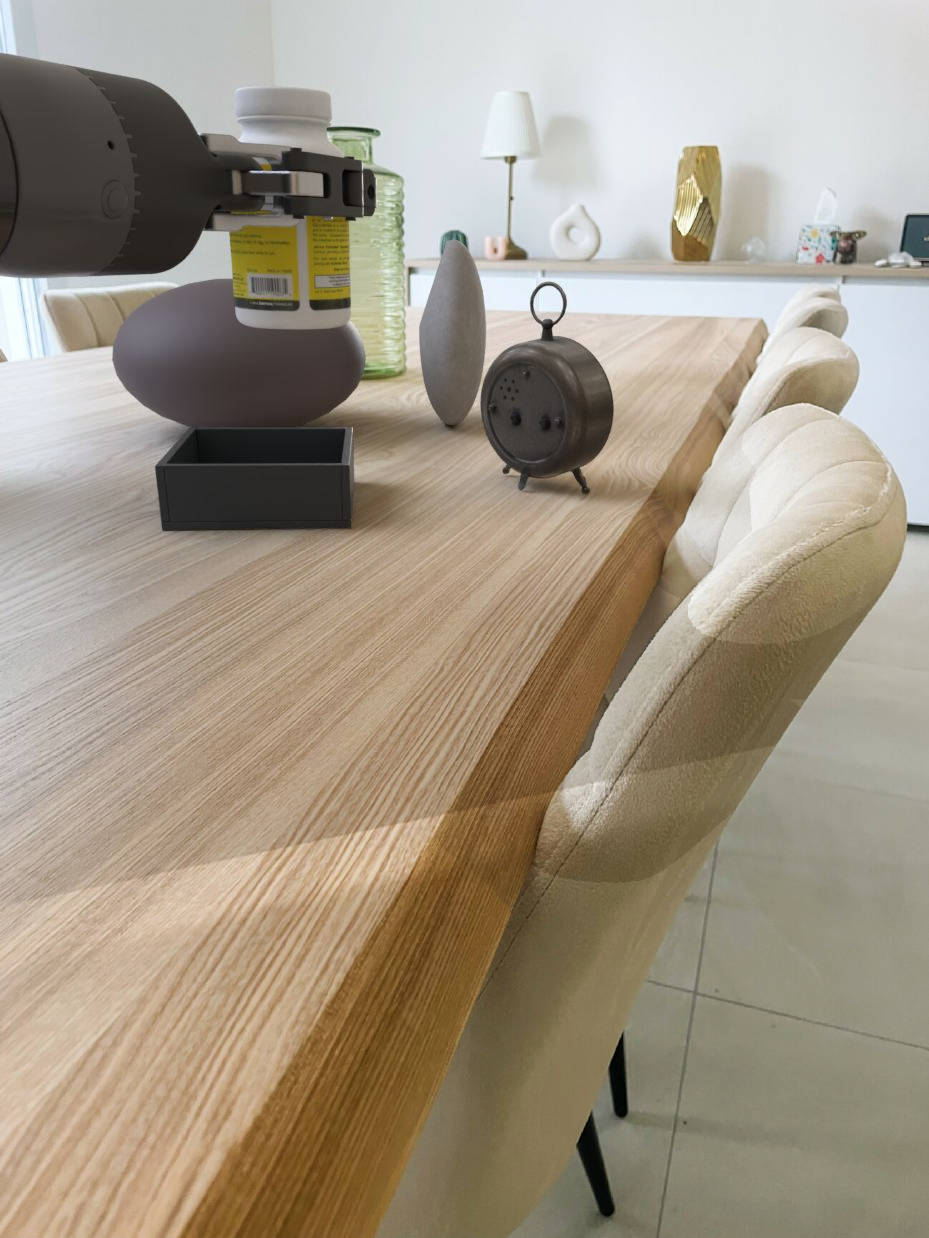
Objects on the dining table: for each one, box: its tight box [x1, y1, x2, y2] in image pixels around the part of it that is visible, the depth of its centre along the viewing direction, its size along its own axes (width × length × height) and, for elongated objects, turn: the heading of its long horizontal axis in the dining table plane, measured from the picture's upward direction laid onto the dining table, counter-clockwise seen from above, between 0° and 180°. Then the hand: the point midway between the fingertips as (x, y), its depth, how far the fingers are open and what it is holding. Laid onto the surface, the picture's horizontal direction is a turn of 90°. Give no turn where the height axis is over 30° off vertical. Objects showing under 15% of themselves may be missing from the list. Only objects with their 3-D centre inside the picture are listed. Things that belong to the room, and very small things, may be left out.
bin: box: [154, 426, 355, 531], centre depth 71 cm, size 13×13×5 cm
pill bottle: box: [228, 85, 352, 329], centre depth 48 cm, size 6×6×11 cm
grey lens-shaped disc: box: [418, 239, 487, 426], centre depth 99 cm, size 18×7×19 cm, turn 1°
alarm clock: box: [479, 281, 615, 495], centre depth 75 cm, size 11×5×16 cm, turn 48°
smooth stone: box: [111, 277, 367, 428], centre depth 94 cm, size 25×25×15 cm
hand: (315, 192), depth 49 cm, fingers closed on pill bottle, 6 cm apart
